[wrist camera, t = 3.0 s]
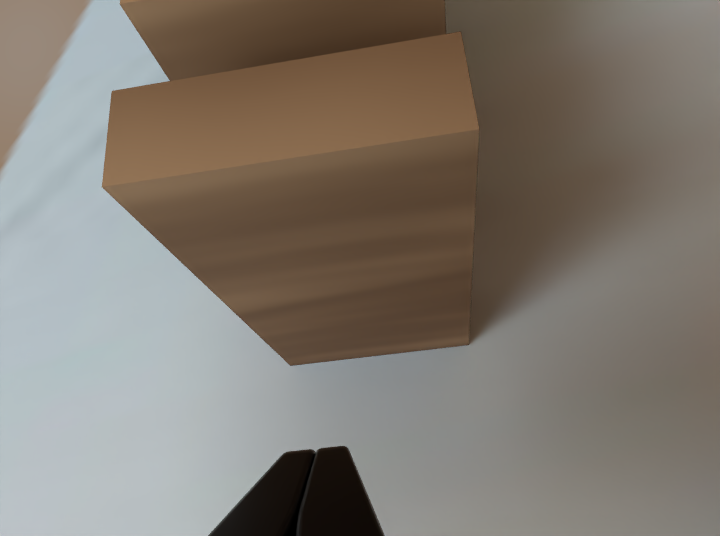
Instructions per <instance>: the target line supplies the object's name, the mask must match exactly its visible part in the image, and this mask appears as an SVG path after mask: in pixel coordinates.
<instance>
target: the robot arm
mask: <svg viewBox="0 0 720 536" xmlns="http://www.w3.org/2000/svg"><path fill="white" fill-rule="evenodd" d="M208 536H385V535H384V533H383V531H382V528H381V526H380V523H379V521H378V519H377V516H376V514H375V511H374V509H373V507H372V504H371V502H370V499H369V497H368V495H367V492H366V490H365V487H364V485H363V483H362V480H361V478H360V475H359V473H358V470H357V468H356V466H355V463H354V461H353V458H352V456H351V454H350V451H349V449H348V448H347V447H345V446H338V447H328V448H321V449H319V450H317V452H315V451H314V450H312V449H309V450H299V451H289V452H286V453H284V454H283V455H282V456H281V457H280V458H279V459H278V460H277V461H276V462H275V463H274V464H273V465H272V466H271V468H270V469H269V470H268V471H267V472H266V473H265V474H264V475H263V476H262V477H261V478H260V480H259V481H258V482H257V483H256V484H255V485H254V486H253V487H252V488H251V489H250V490H249V492H248V493H247V494H246V495H245V496H244V497H243V498H242V499H241V500H240V501H239V503H238V504H237V505H236V506H235V507H234V508H233V509H232V510H231V511H230V512H229V513H228V515H227V516H226V517H225V518H224V519H223V520H222V521H221V522H220V523H219V524H218V526H217V527H216V528H215V529H214V530H213V531H212V532H211V533H210V534H209V535H208Z"/></svg>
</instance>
